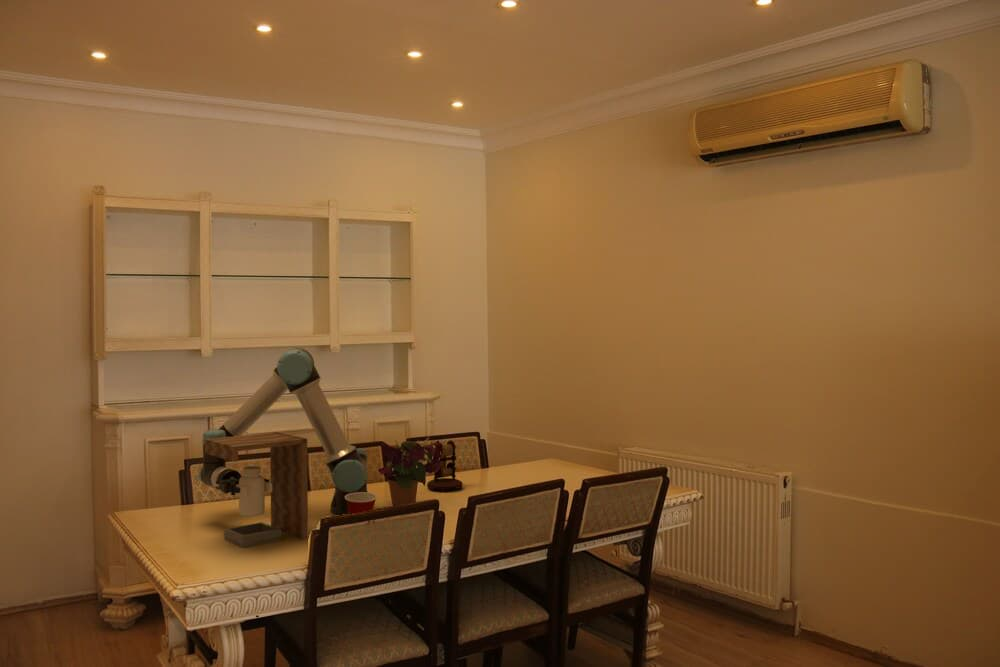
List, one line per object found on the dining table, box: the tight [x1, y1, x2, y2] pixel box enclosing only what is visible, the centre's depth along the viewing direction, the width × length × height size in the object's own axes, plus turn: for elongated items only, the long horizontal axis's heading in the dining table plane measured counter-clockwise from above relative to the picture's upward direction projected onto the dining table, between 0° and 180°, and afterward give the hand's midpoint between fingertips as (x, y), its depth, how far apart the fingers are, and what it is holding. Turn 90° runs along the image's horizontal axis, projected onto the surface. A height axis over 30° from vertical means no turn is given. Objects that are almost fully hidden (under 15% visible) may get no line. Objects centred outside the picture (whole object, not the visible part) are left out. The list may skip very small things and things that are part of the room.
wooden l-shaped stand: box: [205, 431, 309, 540], centre depth 275 cm, size 21×25×32 cm
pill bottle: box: [238, 465, 266, 517], centre depth 275 cm, size 8×8×15 cm
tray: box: [223, 521, 282, 549], centre depth 275 cm, size 13×13×4 cm
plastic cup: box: [345, 492, 378, 514], centre depth 286 cm, size 11×11×12 cm
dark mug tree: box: [426, 439, 464, 493], centre depth 354 cm, size 15×15×20 cm
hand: (258, 489), depth 271 cm, fingers closed on pill bottle, 8 cm apart
